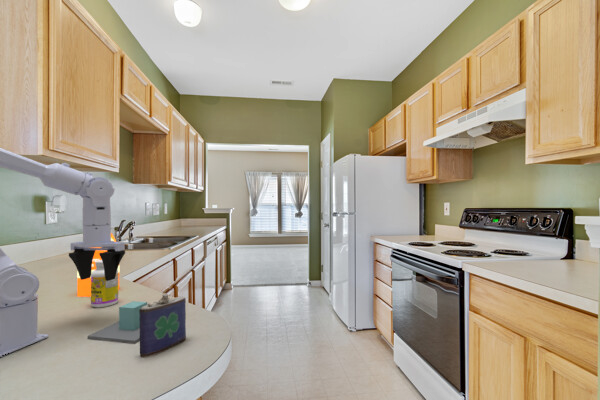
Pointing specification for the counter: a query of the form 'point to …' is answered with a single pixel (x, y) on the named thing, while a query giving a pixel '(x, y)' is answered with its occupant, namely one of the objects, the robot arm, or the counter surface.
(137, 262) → the counter surface
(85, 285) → the orange juice
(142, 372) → the counter surface
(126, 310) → the teal block
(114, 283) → the supplement bottle
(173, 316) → the flask
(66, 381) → the counter surface
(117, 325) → the mat
